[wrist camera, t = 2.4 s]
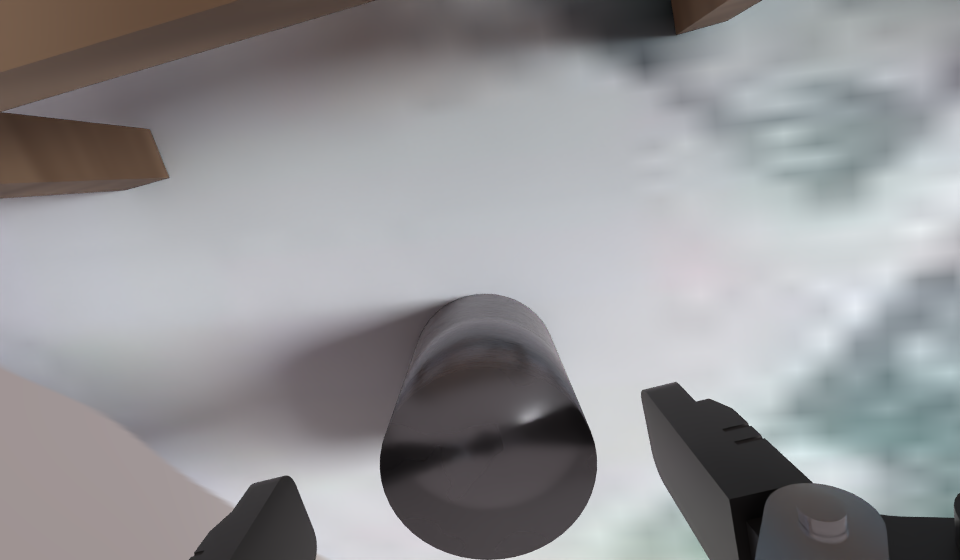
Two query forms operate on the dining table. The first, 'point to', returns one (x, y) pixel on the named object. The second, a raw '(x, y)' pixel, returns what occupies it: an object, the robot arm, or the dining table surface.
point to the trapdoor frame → (133, 47)
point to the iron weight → (487, 434)
